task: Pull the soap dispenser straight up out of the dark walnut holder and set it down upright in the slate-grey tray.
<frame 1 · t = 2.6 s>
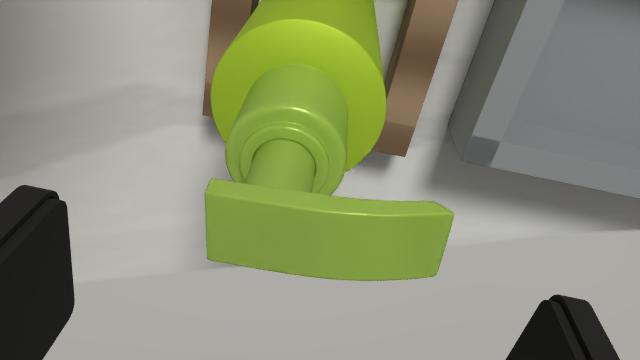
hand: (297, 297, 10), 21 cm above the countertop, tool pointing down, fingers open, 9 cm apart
walnut holder: (330, 13, 28), on the countertop
soap dispenser: (330, 12, 28), resting in walnut holder
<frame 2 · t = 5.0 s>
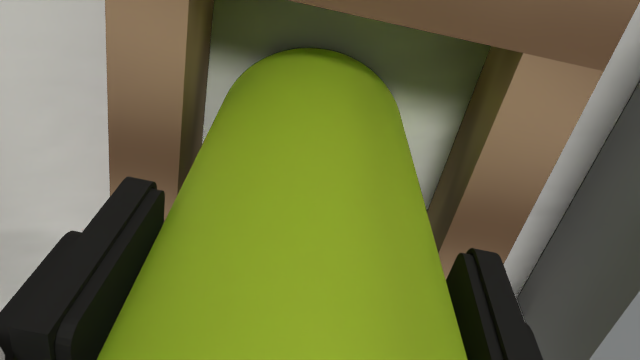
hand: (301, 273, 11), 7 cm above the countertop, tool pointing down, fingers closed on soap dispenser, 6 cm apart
walnut holder: (326, 137, 16), on the countertop
soap dispenser: (326, 136, 16), resting in walnut holder, touching gripper
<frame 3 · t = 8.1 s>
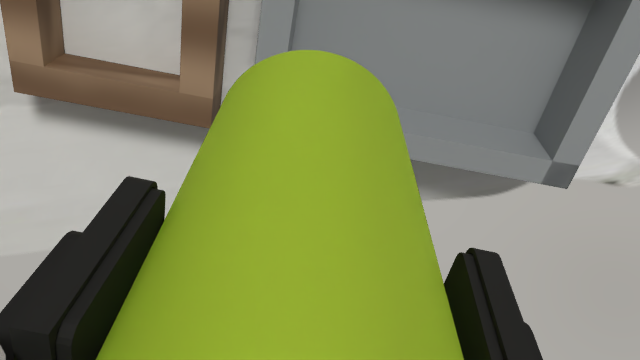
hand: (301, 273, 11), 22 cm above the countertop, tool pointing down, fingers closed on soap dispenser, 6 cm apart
soap dispenser: (325, 138, 16), point 15 cm above the countertop, touching gripper
slate tray: (435, 18, 29), on the countertop
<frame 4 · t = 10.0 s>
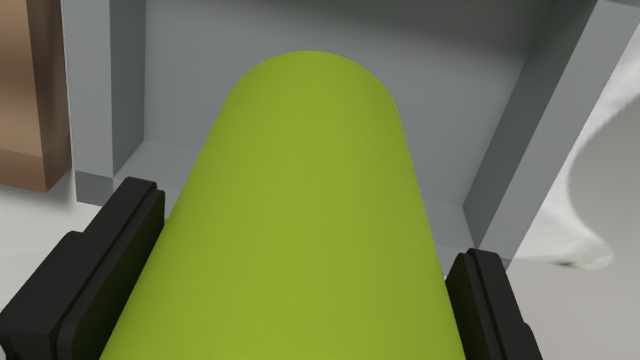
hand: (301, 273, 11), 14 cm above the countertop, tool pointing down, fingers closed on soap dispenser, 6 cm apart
soap dispenser: (326, 138, 16), point 7 cm above the countertop, touching gripper
slate tray: (329, 61, 22), on the countertop
when the fingers open (9 cm above the countertop, at t = 11.4 s): soap dispenser drops 1 cm, resting on slate tray.
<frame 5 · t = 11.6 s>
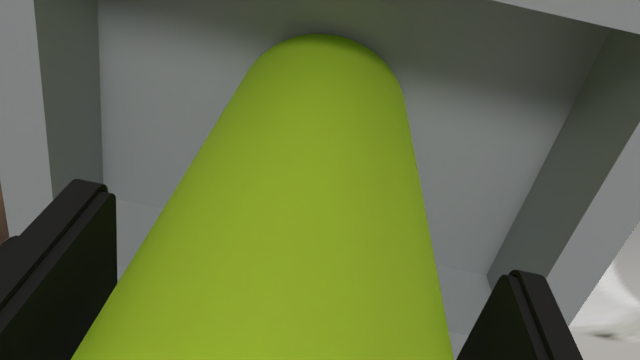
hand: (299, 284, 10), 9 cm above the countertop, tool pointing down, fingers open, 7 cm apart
soap dispenser: (335, 117, 18), point 1 cm above the countertop, touching slate tray
slate tray: (327, 105, 18), on the countertop
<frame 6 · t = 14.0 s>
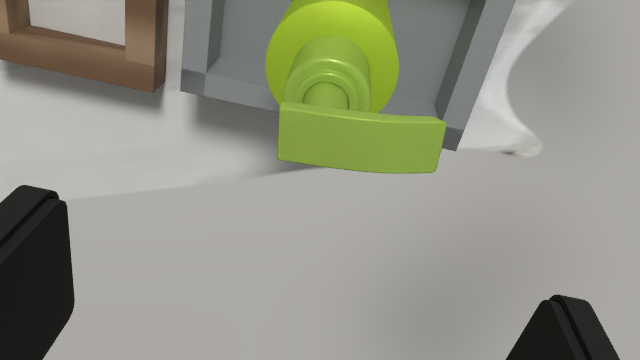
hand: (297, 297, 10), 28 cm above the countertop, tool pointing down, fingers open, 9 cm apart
soap dispenser: (349, 5, 33), point 1 cm above the countertop, touching slate tray
slate tray: (345, 1, 34), on the countertop
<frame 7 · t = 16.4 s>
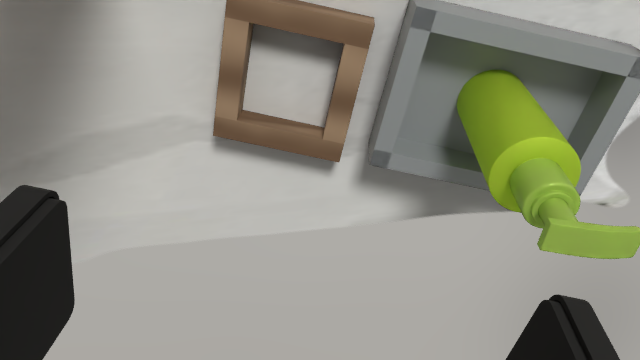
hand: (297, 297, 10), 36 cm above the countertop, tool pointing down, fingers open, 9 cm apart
walnut holder: (291, 74, 45), on the countertop
soap dispenser: (496, 101, 45), point 1 cm above the countertop, touching slate tray
slate tray: (490, 96, 45), on the countertop
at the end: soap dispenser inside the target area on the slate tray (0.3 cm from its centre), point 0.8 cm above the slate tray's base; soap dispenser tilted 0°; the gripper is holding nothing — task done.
